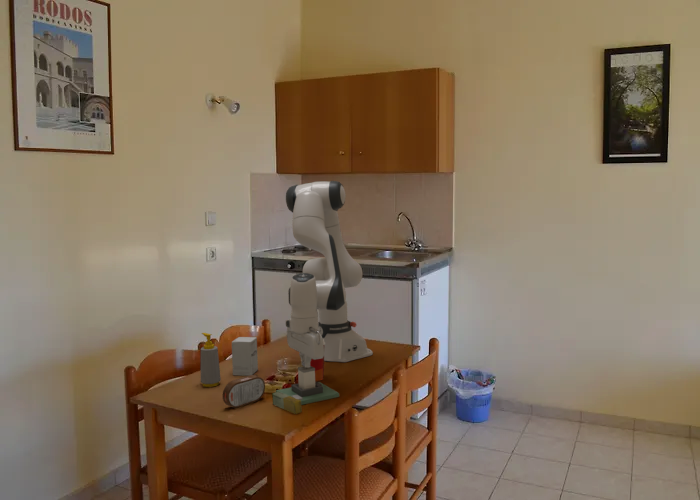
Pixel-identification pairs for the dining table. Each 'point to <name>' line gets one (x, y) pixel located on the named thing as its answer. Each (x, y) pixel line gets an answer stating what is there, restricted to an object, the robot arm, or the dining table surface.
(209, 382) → the soap bottle
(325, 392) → the board
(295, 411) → the medication box
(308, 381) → the plug
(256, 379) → the tin
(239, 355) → the supplement box
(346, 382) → the dining table surface
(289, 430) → the dining table surface
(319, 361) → the paper cup
